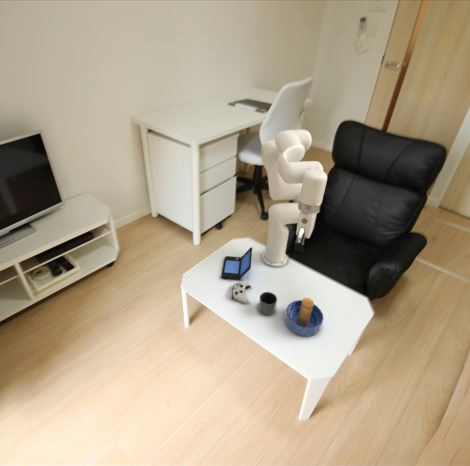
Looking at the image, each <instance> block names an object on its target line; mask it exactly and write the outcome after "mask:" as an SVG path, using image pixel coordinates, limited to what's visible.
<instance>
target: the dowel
mask: <svg viewBox="0 0 470 466" xmlns="http://www.w3.org/2000/svg"><path fill="white" fill-rule="evenodd" d="M301 300H302V303H301V307H300V311H299V315H298V319H297V323H298V324H299V325H300V326H303V327H305V326H307V325H308V323H309V320H310V316H311V312H312V309H313V305H314V304H315V302H314V300H313V299H312V298H310V297H304V298H302V299H301Z"/></svg>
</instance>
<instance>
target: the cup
mask: <svg viewBox="0 0 470 466" xmlns="http://www.w3.org/2000/svg"><path fill="white" fill-rule="evenodd" d="M277 302H278V297H277V296H276V295H275V293H273V292H270V291H265V292H262V293H261V294H260V296H259V301H258V311H259V312H260V314H261V315H264V316H272V315H274V314H275V312H276V308H277V304H278V303H277Z"/></svg>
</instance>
